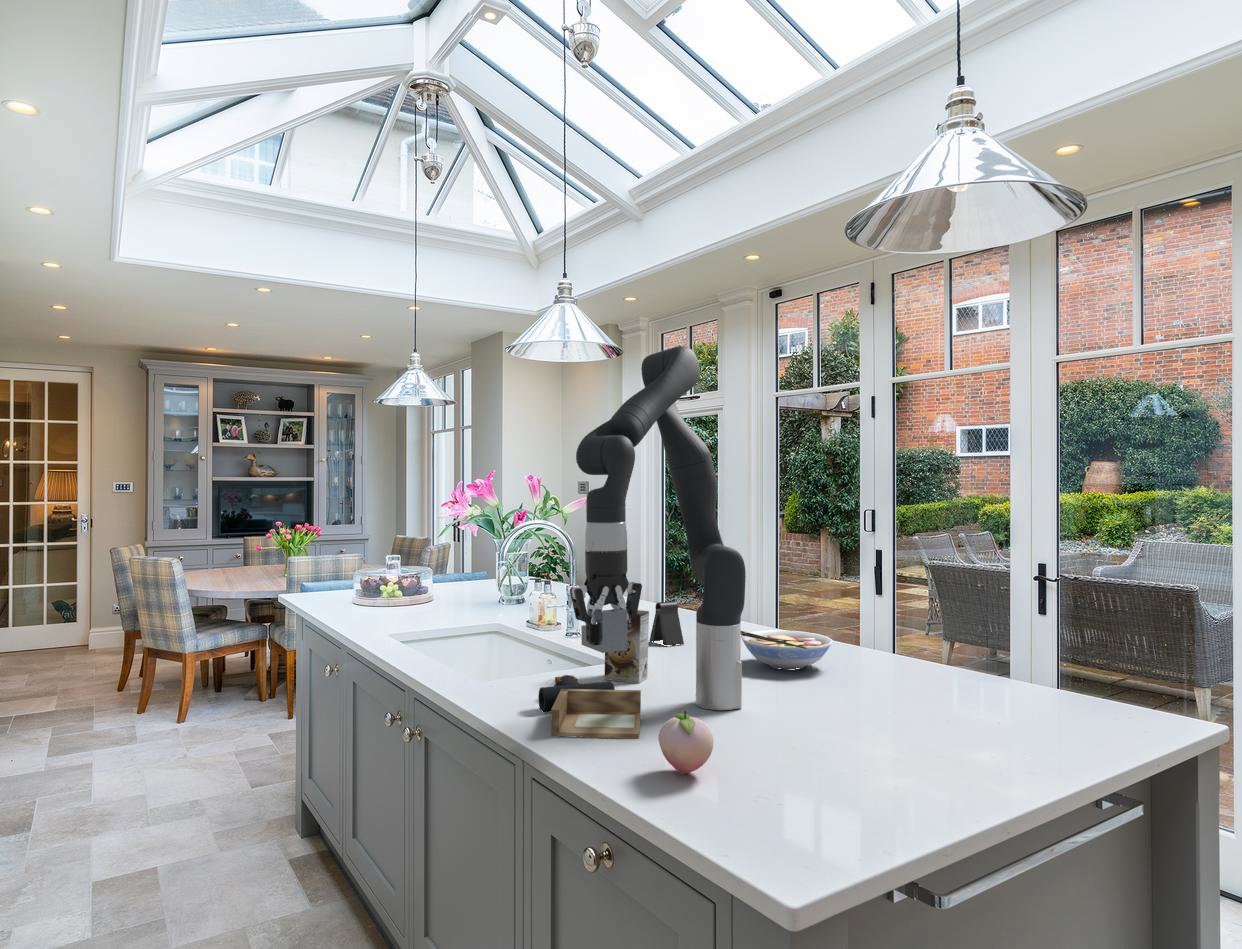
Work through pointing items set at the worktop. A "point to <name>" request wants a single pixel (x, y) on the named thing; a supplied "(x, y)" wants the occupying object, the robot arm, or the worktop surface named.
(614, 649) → the angle bracket
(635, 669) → the coffee box
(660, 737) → the decorative fruit
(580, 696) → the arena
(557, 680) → the pipe connector
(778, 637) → the ramen bowl
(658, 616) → the dark folding stand
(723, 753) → the worktop surface
